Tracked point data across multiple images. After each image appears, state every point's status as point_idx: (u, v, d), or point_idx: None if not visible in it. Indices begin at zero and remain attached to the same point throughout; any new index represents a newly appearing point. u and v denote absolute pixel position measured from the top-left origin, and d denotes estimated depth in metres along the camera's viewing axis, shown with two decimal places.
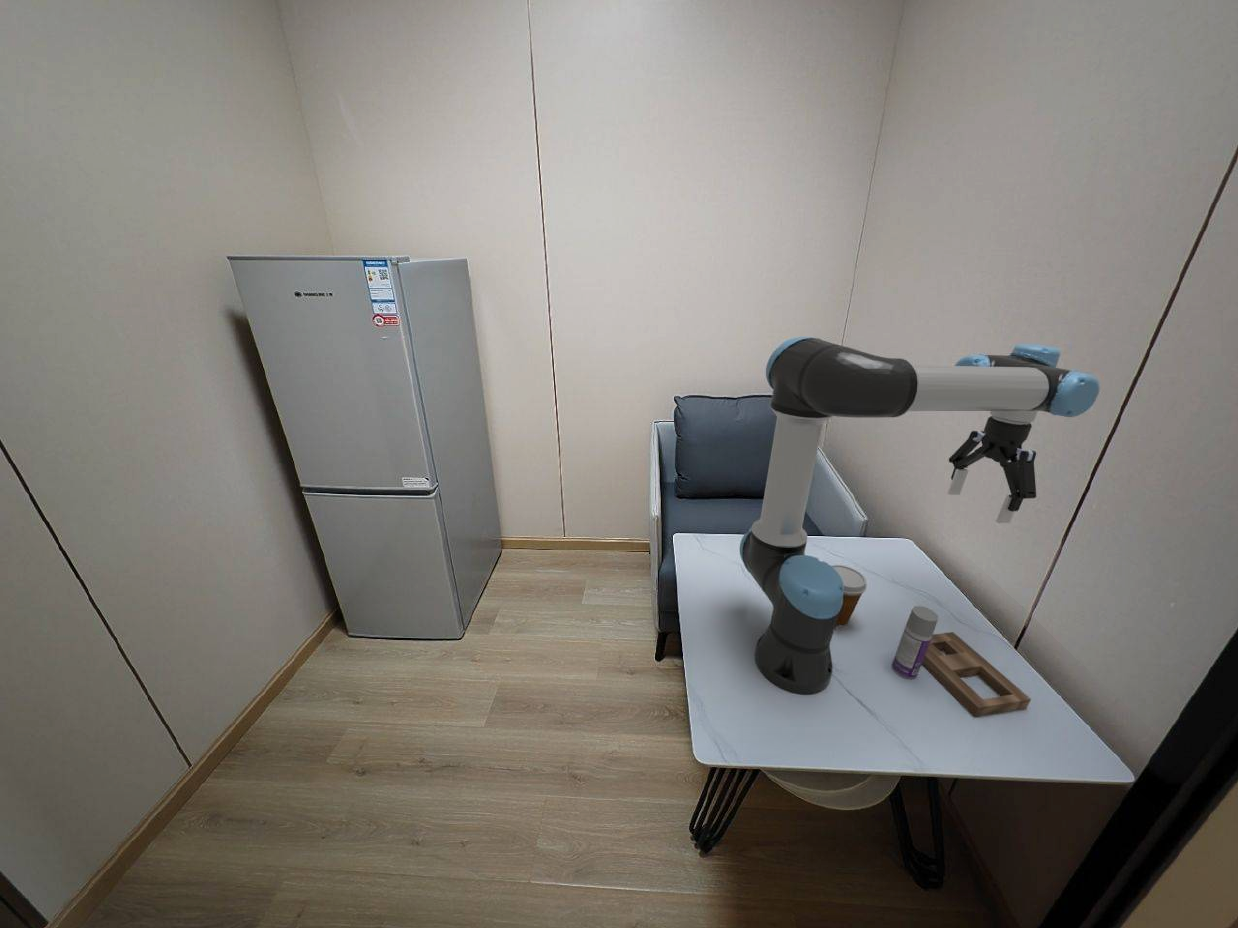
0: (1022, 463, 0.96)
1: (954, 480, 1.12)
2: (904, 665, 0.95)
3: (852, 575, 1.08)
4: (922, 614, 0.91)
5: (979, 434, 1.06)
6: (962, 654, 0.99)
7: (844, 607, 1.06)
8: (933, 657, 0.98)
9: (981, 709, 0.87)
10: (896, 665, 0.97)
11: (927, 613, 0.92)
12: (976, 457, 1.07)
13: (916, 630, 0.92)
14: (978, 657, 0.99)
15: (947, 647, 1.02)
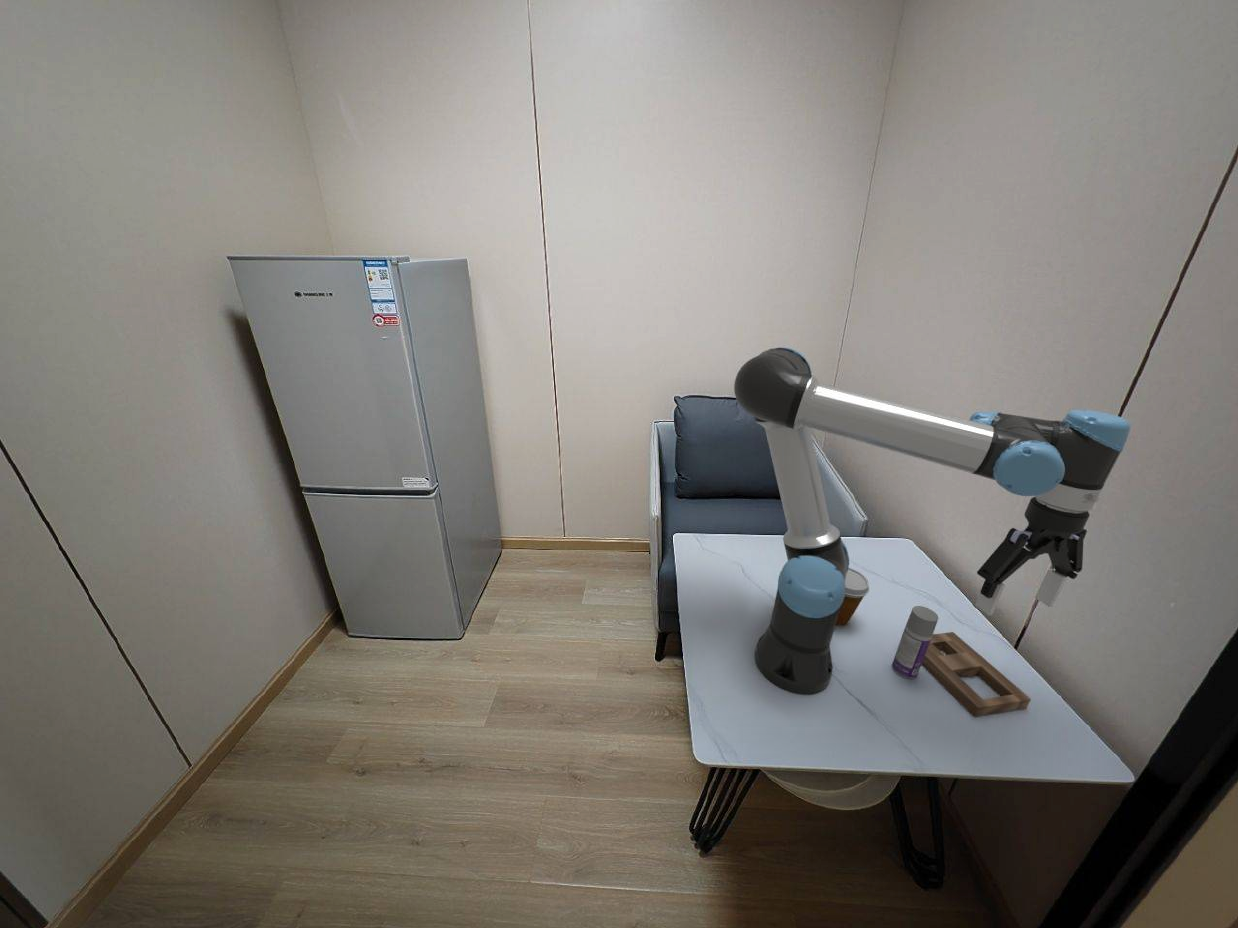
0: None
1: (1043, 581, 0.87)
2: (904, 665, 0.95)
3: (855, 577, 1.08)
4: (922, 614, 0.91)
5: None
6: (962, 654, 0.99)
7: (845, 609, 1.06)
8: (933, 657, 0.98)
9: (981, 709, 0.87)
10: (896, 665, 0.97)
11: (927, 613, 0.92)
12: None
13: (916, 630, 0.92)
14: (978, 657, 0.99)
15: (947, 647, 1.02)
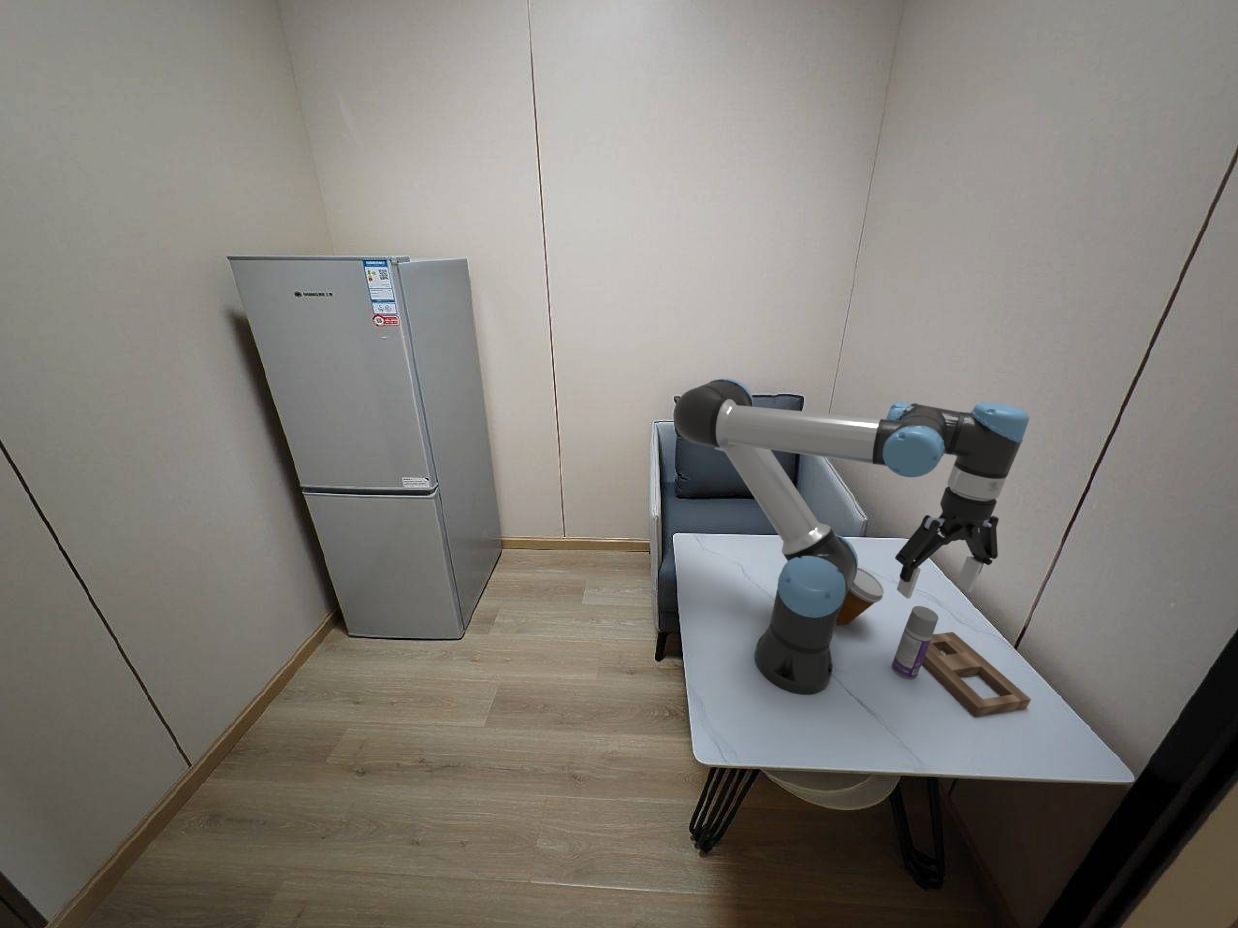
0: None
1: None
2: (904, 665, 0.95)
3: (870, 581, 1.07)
4: (922, 614, 0.91)
5: None
6: (962, 654, 0.99)
7: (856, 611, 1.05)
8: (933, 657, 0.98)
9: (981, 709, 0.87)
10: (896, 665, 0.97)
11: (927, 613, 0.92)
12: (966, 539, 0.87)
13: (916, 630, 0.92)
14: (978, 657, 0.99)
15: (947, 647, 1.02)
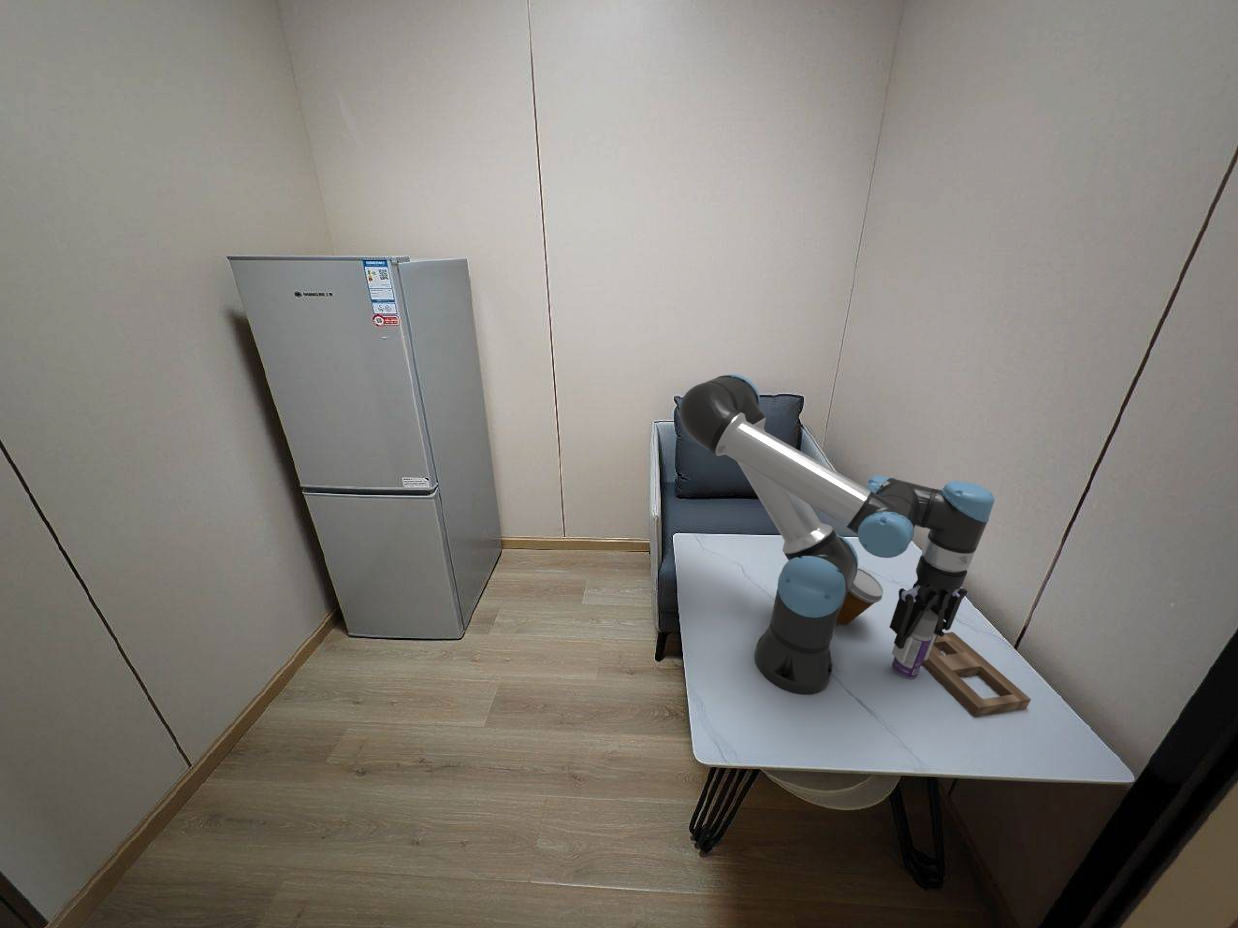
0: None
1: None
2: (904, 665, 0.95)
3: (870, 581, 1.07)
4: None
5: None
6: (962, 654, 0.99)
7: (855, 611, 1.05)
8: (933, 657, 0.98)
9: (981, 709, 0.87)
10: (896, 665, 0.97)
11: (927, 613, 0.92)
12: (931, 606, 0.93)
13: (916, 630, 0.92)
14: (978, 657, 0.99)
15: (947, 647, 1.02)
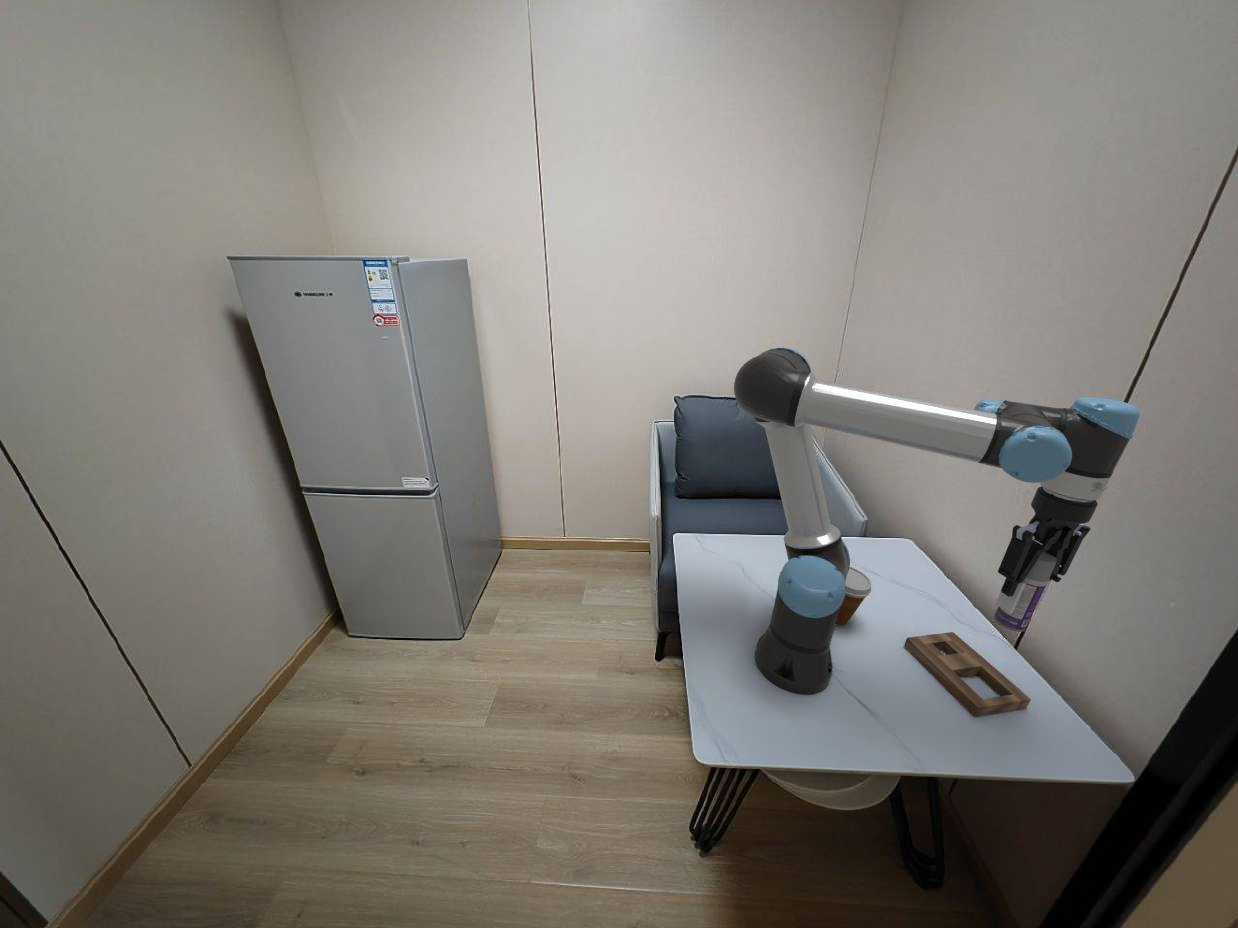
0: None
1: None
2: (1012, 616, 0.84)
3: (858, 577, 1.08)
4: None
5: None
6: (962, 654, 0.99)
7: (845, 608, 1.06)
8: (933, 657, 0.98)
9: (981, 709, 0.87)
10: (1001, 617, 0.86)
11: (1043, 555, 0.81)
12: None
13: (1030, 574, 0.81)
14: (978, 657, 0.99)
15: (947, 647, 1.02)
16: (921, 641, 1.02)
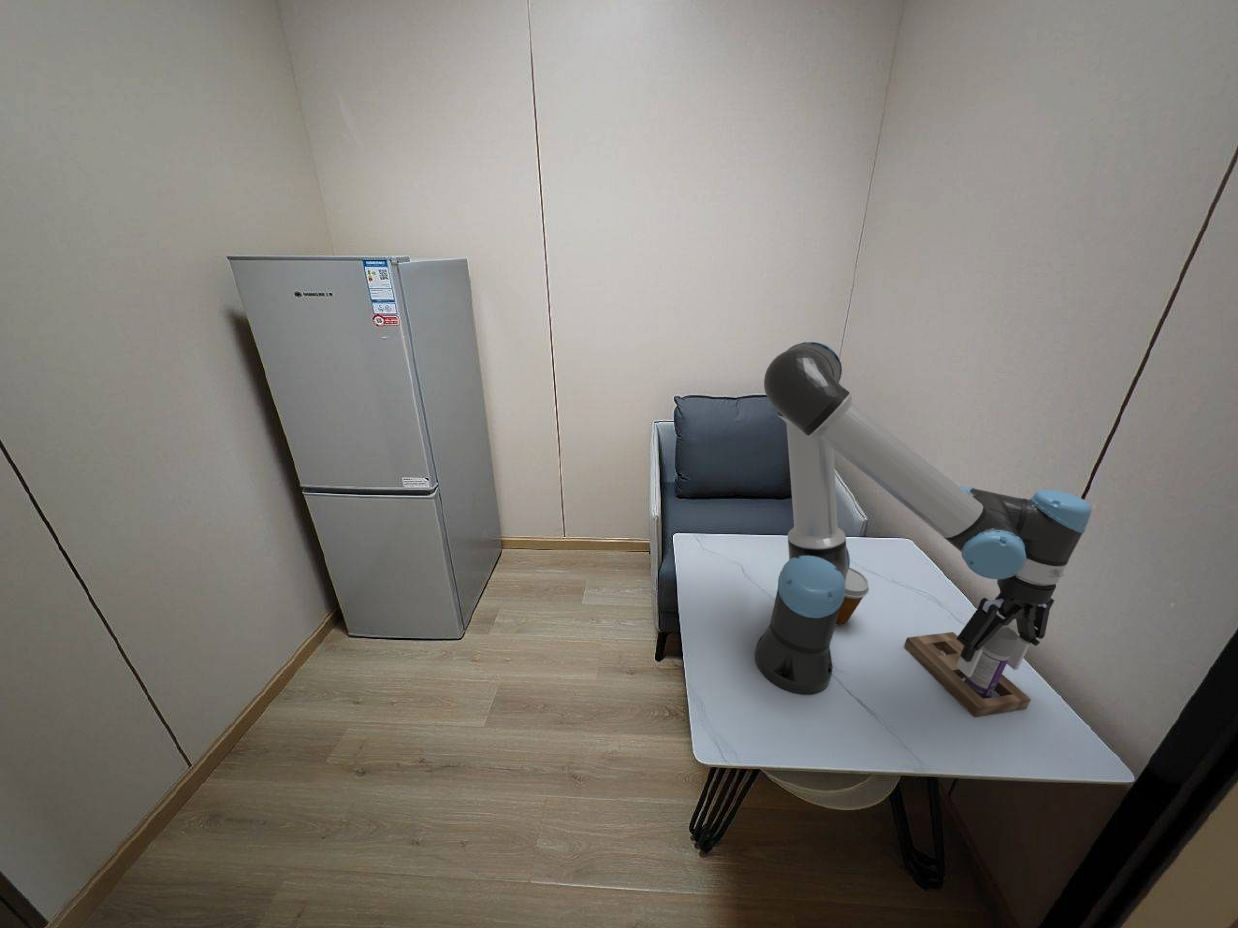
0: None
1: None
2: (978, 685, 0.91)
3: (856, 578, 1.07)
4: (1000, 633, 0.88)
5: None
6: None
7: (842, 609, 1.07)
8: (933, 657, 0.98)
9: (981, 709, 0.87)
10: (969, 685, 0.93)
11: (1005, 631, 0.88)
12: None
13: (994, 649, 0.88)
14: None
15: (947, 647, 1.02)
16: (921, 641, 1.02)
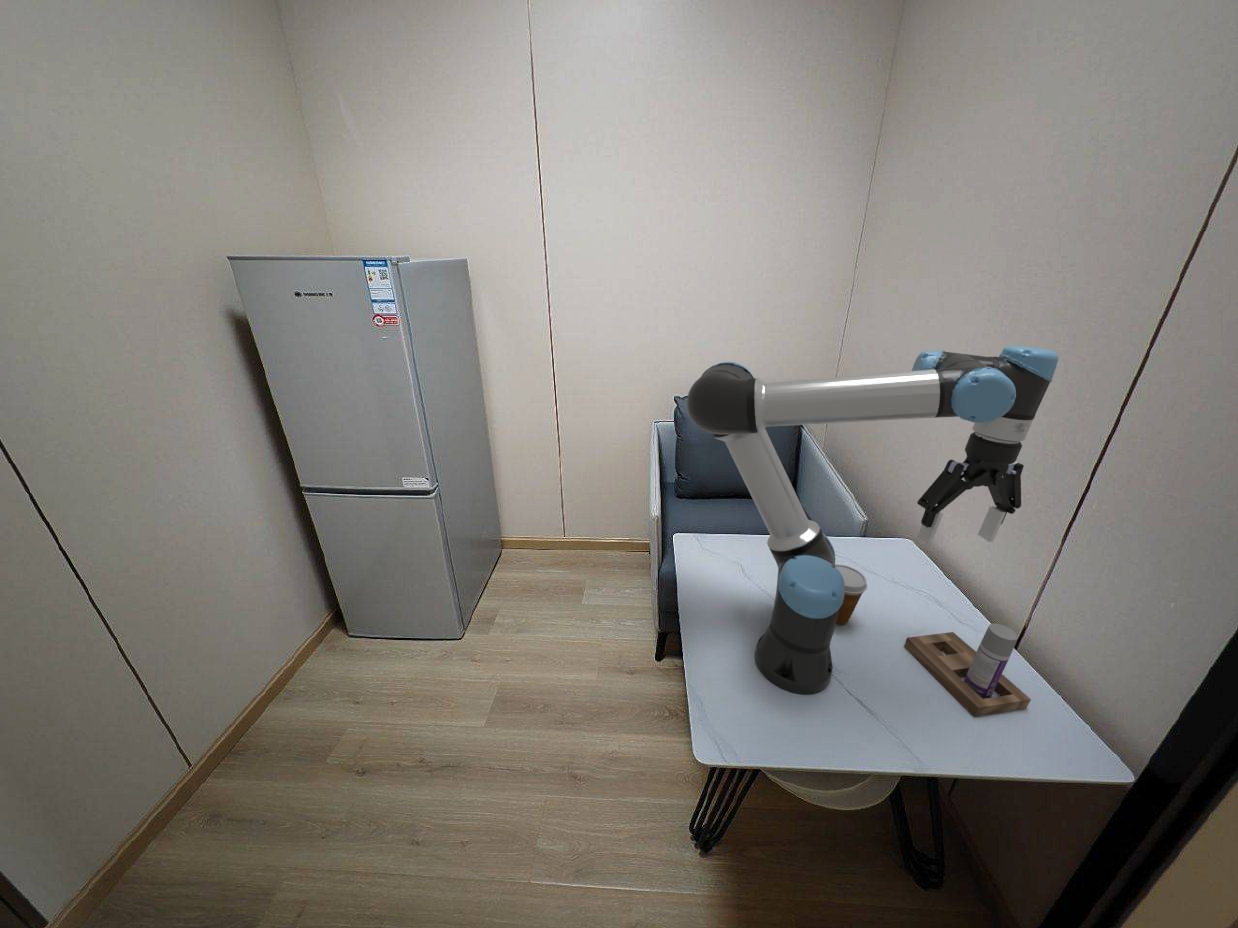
0: None
1: None
2: (978, 685, 0.91)
3: (853, 575, 1.08)
4: (1000, 633, 0.88)
5: None
6: (962, 654, 0.99)
7: (843, 607, 1.07)
8: (933, 657, 0.98)
9: (981, 709, 0.87)
10: (969, 685, 0.93)
11: (1006, 631, 0.88)
12: (990, 487, 0.88)
13: (994, 649, 0.88)
14: None
15: (947, 647, 1.02)
16: (921, 641, 1.02)
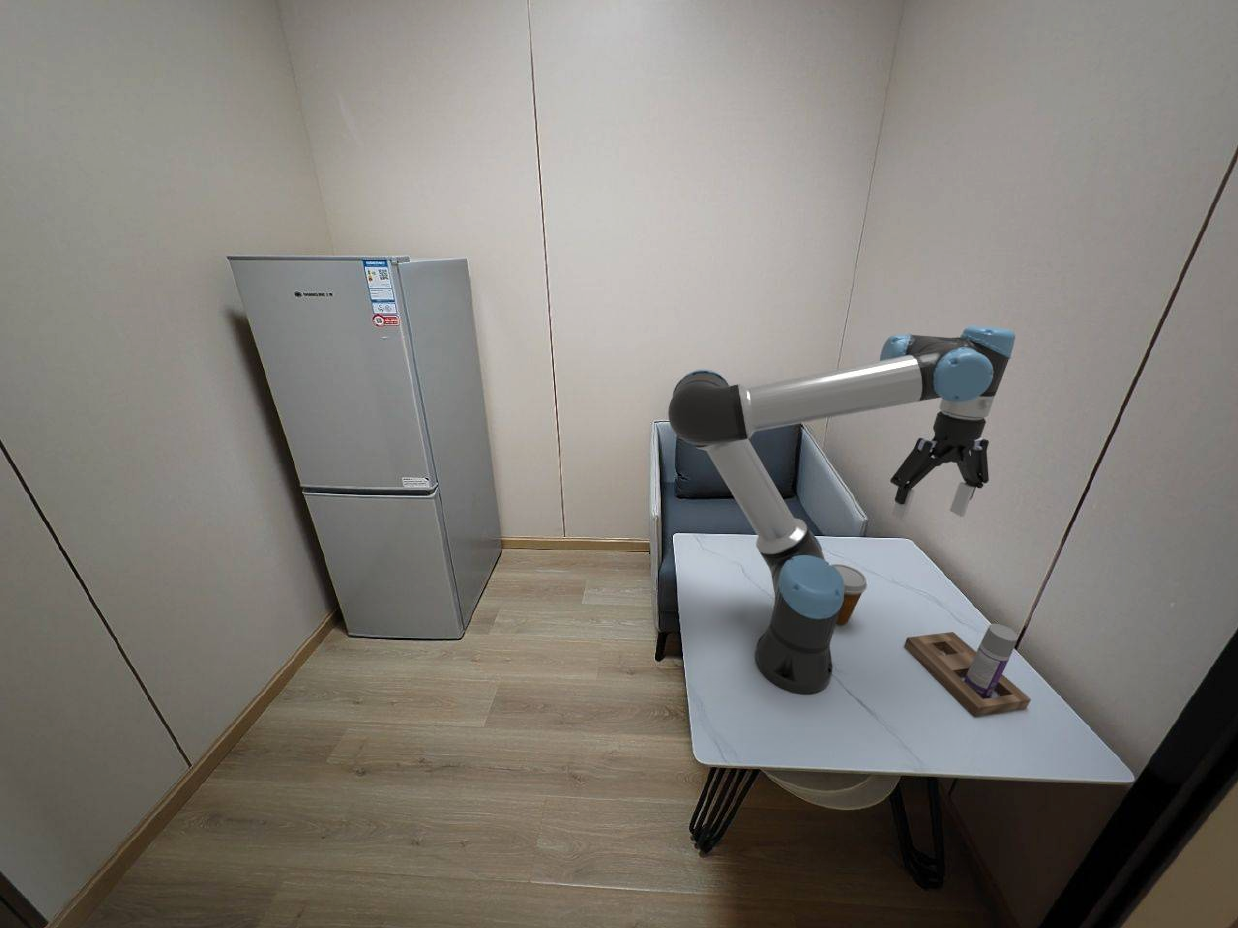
0: None
1: None
2: (978, 685, 0.91)
3: (853, 575, 1.08)
4: (1000, 633, 0.87)
5: None
6: (962, 654, 0.99)
7: (843, 606, 1.07)
8: (933, 657, 0.98)
9: (981, 709, 0.87)
10: (969, 685, 0.93)
11: (1006, 631, 0.88)
12: (958, 464, 0.91)
13: (994, 649, 0.88)
14: None
15: (947, 647, 1.02)
16: (921, 641, 1.02)
